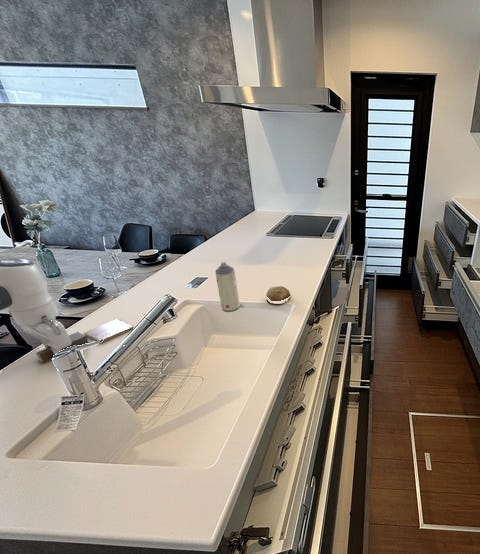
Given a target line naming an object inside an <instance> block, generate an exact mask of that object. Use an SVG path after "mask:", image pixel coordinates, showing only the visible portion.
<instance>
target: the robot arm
mask: <svg viewBox="0 0 480 554" xmlns="http://www.w3.org/2000/svg"><path fill="white" fill-rule="evenodd" d="M54 299H55V298H54V297H53V296H52V295H51V294H50V292H49V286H48V282H47V281H46V279H45V276H44V274H43V273H42V271H41V269H39V267H38V266H37V265H36V264H35V263H34V262H33V261H31V260H28V259H24V258H6V259H5V258H4V259H0V311H3V310H5V309H7V312H8V315H10V316H11V318H13V320H14V321H15V323H16V325H18V326H19V327H20V328H21V329H22V330H23V331H24V333H25V334H28V335H29V336H31V337H33V338H35V339H36V340H38V341H40V343H41V344H42V345H43V346H44V349H46V348H49V347H51V351H52V353H53V354H56V353H58V352H59V351H61V349H63V348H65V347H68V346H70V345H71V344H72V341H71V339H70V337H69V335H70V334H69V333H68V332H67V329H66V327H65V326H64V325H63V324H62V323H61V322H60V321H58V320H57V319H56V318H57V317H58V316H59V314H60V310H59V308H58V306H57V304H56V301H55V300H54Z"/></svg>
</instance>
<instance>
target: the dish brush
mask: <svg viewBox="0 0 480 554" xmlns="http://www.w3.org/2000/svg"><path fill="white" fill-rule="evenodd" d="M68 335H69V337H70V339H71V341H72V344H71V345H70V346H73V345H82V344H85V343H89V341H88V337H87V336H85V335H84V333H81V332H79V331H76V332H74V333H71V334H68ZM70 346H68V347H70ZM66 348H67V347H65V348H63V349H66ZM63 349H61V350H63ZM35 355H36V356H37V358H38V360H39V361H40V362H41V363H43V364H45V363H47V362H50V361H52V360H53V359H52V357H53V355H55V354H53V353H52V351H51V347H49V348H46V349H45V348H43V349H42V350H39V351H37V352H35Z"/></svg>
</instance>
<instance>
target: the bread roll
mask: <svg viewBox="0 0 480 554" xmlns="http://www.w3.org/2000/svg"><path fill="white" fill-rule="evenodd" d="M266 296H267V297H268V298H269V299H270V300H271V301H281V300H284V299H286V298H288V297H289V296H290V297H291V293H290V290H289V289H288V288H286V287H284V286H281V285H280V286H278V285H277V286H272V287H270V288H269V289H268V290H267V292H266V295H265V297H266Z"/></svg>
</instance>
